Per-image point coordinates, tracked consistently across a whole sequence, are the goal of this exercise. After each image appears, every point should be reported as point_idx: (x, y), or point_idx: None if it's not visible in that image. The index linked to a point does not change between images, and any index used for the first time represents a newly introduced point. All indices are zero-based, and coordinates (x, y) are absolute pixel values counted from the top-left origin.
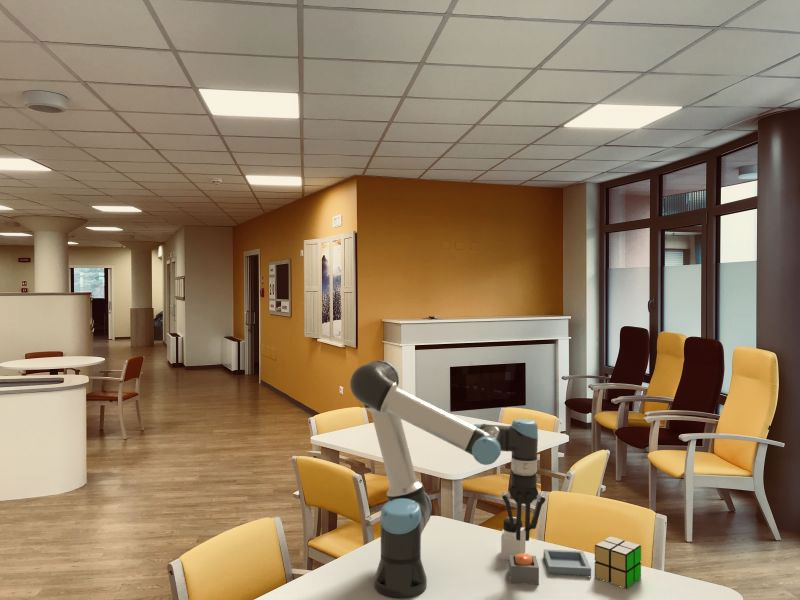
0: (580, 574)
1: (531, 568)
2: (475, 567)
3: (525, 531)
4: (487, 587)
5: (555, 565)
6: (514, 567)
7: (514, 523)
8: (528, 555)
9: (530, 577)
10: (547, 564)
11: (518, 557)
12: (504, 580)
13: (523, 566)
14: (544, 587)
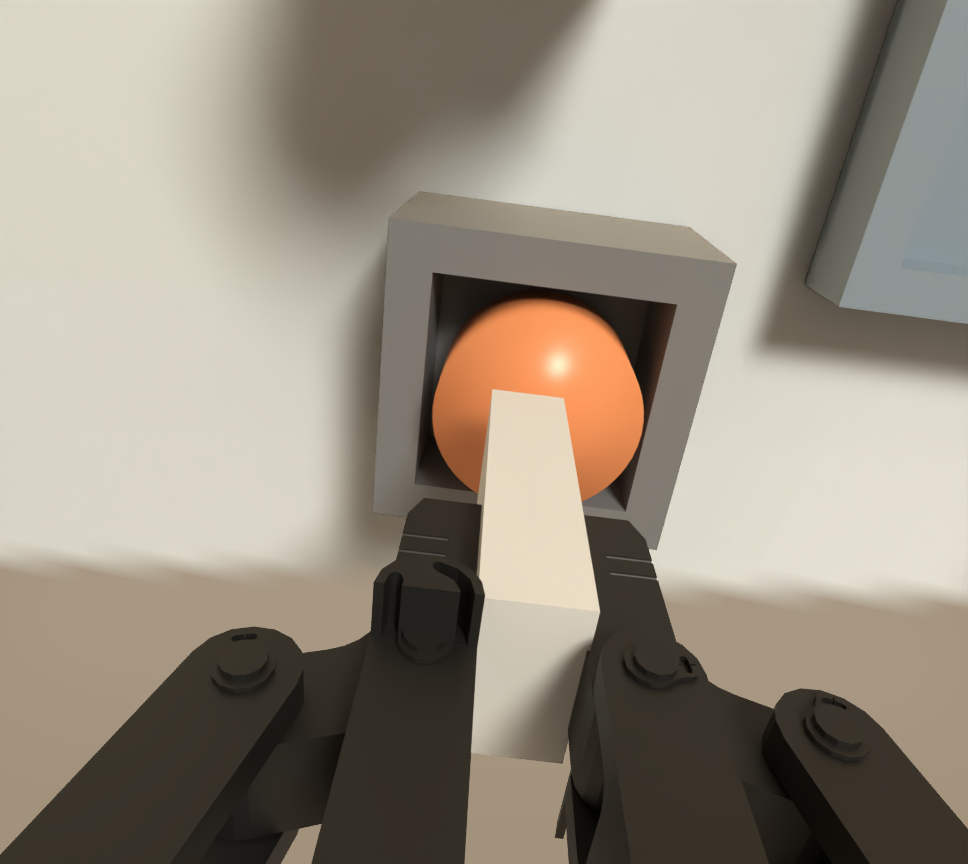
0: None
1: None
2: (69, 94)
3: (556, 758)
4: (207, 488)
5: (927, 286)
6: (408, 511)
7: (289, 817)
8: (611, 382)
9: None
10: (868, 176)
11: (469, 431)
12: (352, 382)
13: None
14: None
